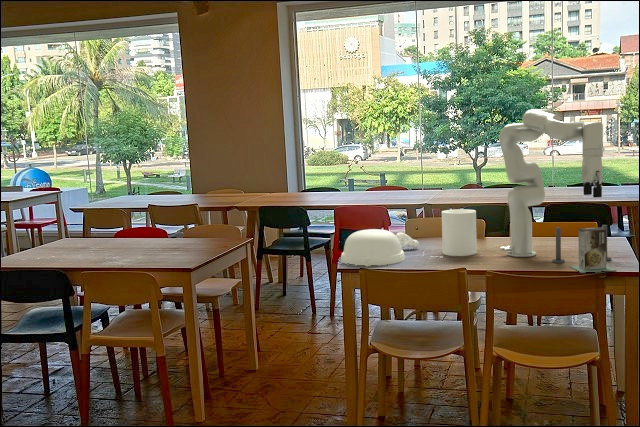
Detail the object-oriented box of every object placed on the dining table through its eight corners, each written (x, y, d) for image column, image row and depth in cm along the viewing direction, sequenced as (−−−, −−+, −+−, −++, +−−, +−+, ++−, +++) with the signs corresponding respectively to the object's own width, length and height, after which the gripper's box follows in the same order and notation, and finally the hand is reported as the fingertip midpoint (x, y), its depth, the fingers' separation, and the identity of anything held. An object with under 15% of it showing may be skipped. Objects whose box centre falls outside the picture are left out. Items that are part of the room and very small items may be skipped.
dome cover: (348, 253, 340) (347, 225, 338) (408, 253, 332) (407, 224, 331) (334, 266, 309) (332, 236, 307) (400, 266, 302) (399, 235, 300)
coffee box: (600, 265, 281) (600, 226, 279) (606, 268, 274) (606, 229, 272) (578, 266, 281) (577, 228, 279) (584, 270, 274) (584, 230, 272)
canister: (442, 250, 335) (441, 209, 333) (476, 249, 332) (475, 208, 330) (442, 256, 320) (441, 214, 317) (477, 255, 317) (476, 213, 314)
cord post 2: (601, 261, 292) (601, 226, 290) (596, 259, 296) (596, 224, 295) (613, 260, 292) (612, 225, 290) (608, 258, 297) (607, 224, 295)
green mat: (581, 273, 271) (581, 271, 271) (570, 267, 283) (570, 265, 283) (616, 271, 271) (616, 270, 271) (603, 265, 283) (603, 264, 283)
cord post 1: (554, 263, 292) (554, 228, 290) (550, 261, 297) (550, 227, 295) (566, 262, 292) (566, 228, 290) (562, 260, 297) (561, 226, 295)
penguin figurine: (395, 231, 344) (418, 232, 344) (394, 248, 345) (417, 249, 345) (395, 233, 338) (420, 234, 337) (394, 250, 339) (418, 251, 339)
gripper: (575, 152, 280) (575, 194, 282) (591, 154, 263) (591, 198, 265) (593, 152, 280) (593, 193, 282) (611, 153, 263) (611, 197, 265)
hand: (592, 196), depth 274 cm, fingers open, 9 cm apart
